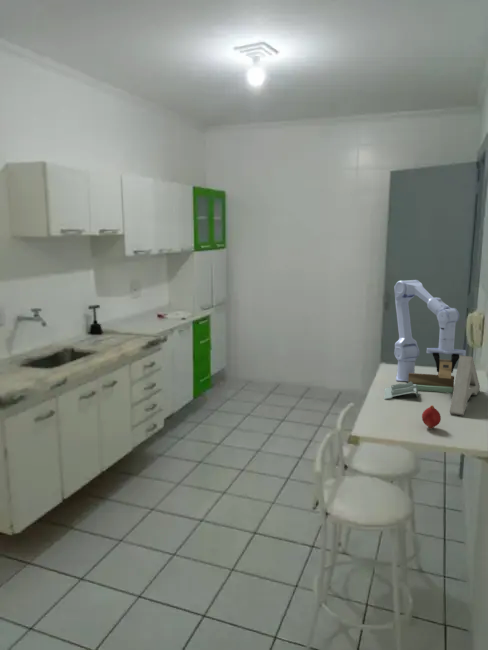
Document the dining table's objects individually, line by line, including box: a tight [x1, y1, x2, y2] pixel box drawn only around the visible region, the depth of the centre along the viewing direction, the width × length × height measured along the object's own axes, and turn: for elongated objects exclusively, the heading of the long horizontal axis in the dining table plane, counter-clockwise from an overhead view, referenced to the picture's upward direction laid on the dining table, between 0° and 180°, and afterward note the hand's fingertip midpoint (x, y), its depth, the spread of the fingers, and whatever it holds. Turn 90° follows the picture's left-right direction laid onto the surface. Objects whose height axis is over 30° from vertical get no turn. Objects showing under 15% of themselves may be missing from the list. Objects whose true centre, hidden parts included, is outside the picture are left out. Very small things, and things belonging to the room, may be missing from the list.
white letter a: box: [449, 355, 481, 417], centre depth 194 cm, size 22×4×30 cm
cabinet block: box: [437, 358, 452, 379], centre depth 204 cm, size 6×4×6 cm
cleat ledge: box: [416, 384, 454, 394], centre depth 212 cm, size 7×16×2 cm, turn 73°
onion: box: [421, 405, 442, 429], centre depth 167 cm, size 6×6×8 cm
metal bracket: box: [382, 382, 421, 400], centre depth 204 cm, size 14×6×15 cm
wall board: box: [407, 372, 455, 389], centre depth 215 cm, size 2×18×5 cm, turn 73°
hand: (444, 371), depth 205 cm, fingers closed on cabinet block, 4 cm apart
